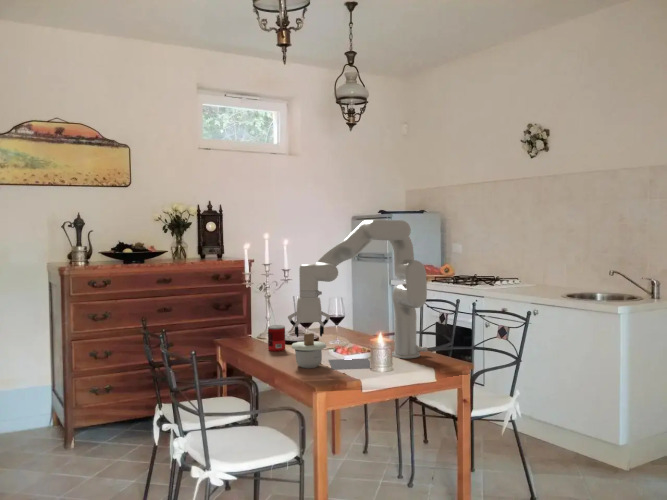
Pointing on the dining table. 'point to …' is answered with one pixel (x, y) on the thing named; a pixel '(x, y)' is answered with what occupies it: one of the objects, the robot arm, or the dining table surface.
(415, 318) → the robot arm
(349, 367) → the mat
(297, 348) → the lid
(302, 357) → the teacup
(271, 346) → the canned food
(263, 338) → the dining table surface
